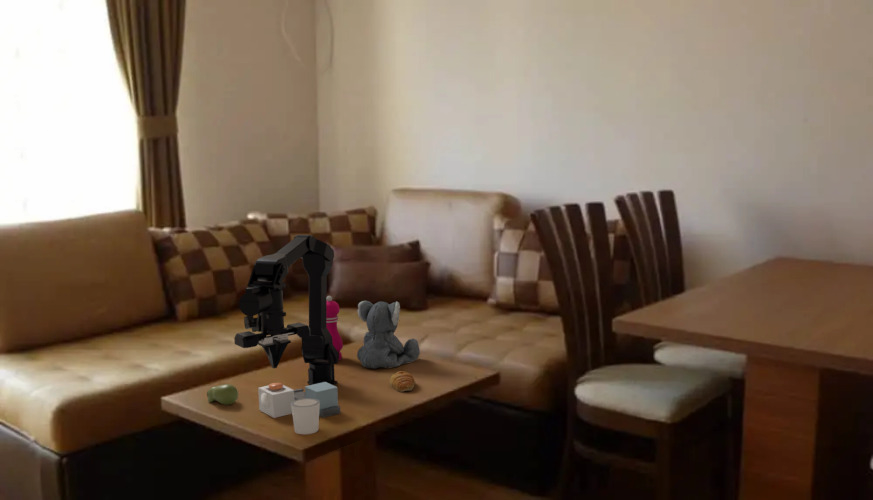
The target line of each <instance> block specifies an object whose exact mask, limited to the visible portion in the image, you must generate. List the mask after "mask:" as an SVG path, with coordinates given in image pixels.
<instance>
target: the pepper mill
mask: <svg viewBox="0 0 873 500" xmlns="http://www.w3.org/2000/svg"><path fill="white" fill-rule="evenodd" d="M339 313H340V305H339V303H338V302H336V300H335V301H334V300H333V297H332V296H331V295H327V320H326V326H327V329H328V331H329V332H330V334H331V336H332V341H333V346H334V347H335V349H336V350H337V351H338V353H339V361H341V360H342V359H343V353H342V352H341V351H342V350H343V347H344V343H343V339H342V337H341V335H340V333H339V330H338V322H339V315H338V314H339Z"/></svg>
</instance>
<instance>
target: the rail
mask: <svg viewBox="0 0 873 500" xmlns="http://www.w3.org/2000/svg"><path fill="white" fill-rule="evenodd" d="M293 390H294V400H298V399H304V398H305V391H304V388H296V389H293ZM320 414H321V415H320V418H322V419H323V418H327V417H331V416H332V417H333V416H335V415H339V414H341V406H340V405H338V406H333V407H329V408H325V409H321V410H320Z"/></svg>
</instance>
